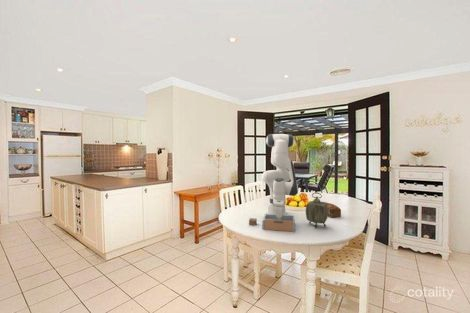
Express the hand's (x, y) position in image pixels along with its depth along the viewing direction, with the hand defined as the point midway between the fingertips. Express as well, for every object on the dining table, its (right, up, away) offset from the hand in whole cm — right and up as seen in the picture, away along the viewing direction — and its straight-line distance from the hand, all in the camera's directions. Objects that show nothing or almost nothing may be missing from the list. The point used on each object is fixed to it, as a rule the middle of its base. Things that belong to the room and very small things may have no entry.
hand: (279, 220), depth 157 cm
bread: (+50, -5, +36) cm, 62 cm away
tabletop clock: (+29, -6, +5) cm, 30 cm away
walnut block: (-18, -6, +7) cm, 20 cm away
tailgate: (-2, -5, -6) cm, 8 cm away
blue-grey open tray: (0, -6, +2) cm, 6 cm away
